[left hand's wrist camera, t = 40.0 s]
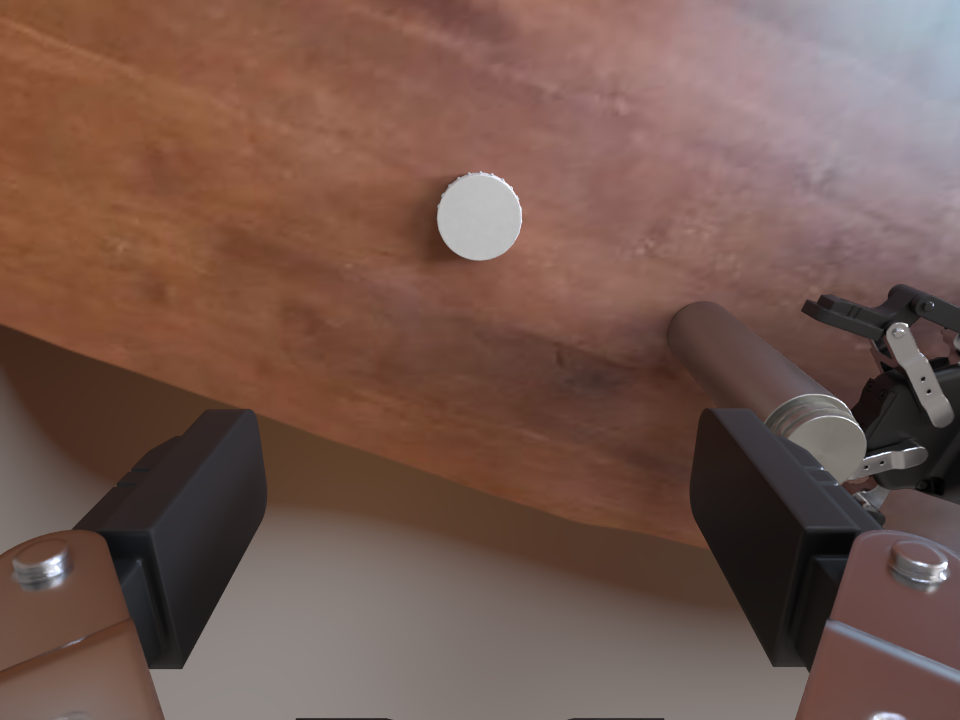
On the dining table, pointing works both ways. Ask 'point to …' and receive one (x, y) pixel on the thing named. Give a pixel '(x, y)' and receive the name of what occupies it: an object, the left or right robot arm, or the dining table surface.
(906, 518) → the dining table surface
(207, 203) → the dining table surface
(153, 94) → the dining table surface
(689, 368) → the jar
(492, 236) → the lid
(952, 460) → the right robot arm
